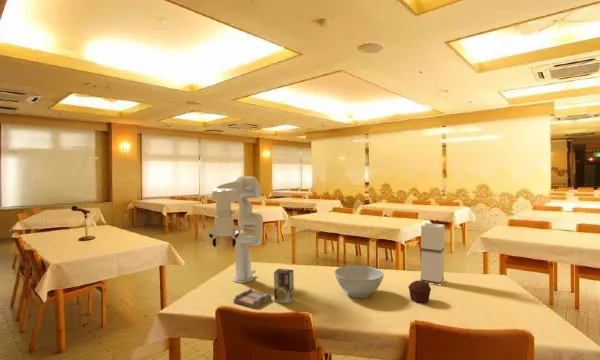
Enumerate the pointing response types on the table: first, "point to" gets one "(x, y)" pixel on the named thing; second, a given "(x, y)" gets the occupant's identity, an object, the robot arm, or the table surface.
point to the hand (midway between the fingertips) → (224, 246)
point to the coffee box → (283, 286)
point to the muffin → (419, 291)
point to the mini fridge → (432, 253)
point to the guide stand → (251, 298)
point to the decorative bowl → (359, 280)
